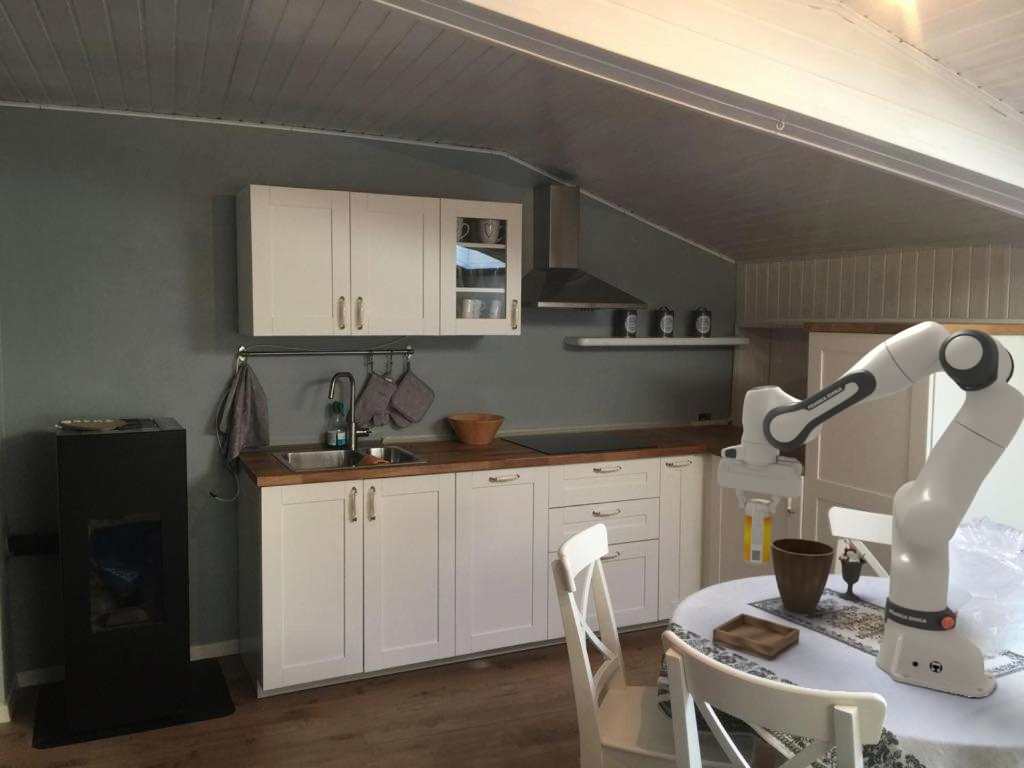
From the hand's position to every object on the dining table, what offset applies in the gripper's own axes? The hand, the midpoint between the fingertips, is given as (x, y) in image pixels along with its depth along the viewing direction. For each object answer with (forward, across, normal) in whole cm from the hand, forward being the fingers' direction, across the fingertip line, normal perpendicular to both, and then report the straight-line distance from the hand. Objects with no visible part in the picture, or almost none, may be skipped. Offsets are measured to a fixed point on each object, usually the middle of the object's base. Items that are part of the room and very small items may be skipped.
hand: (757, 510), depth 207 cm
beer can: (+13, 0, 0) cm, 13 cm away
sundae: (+27, -12, -32) cm, 43 cm away
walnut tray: (+26, -8, +14) cm, 31 cm away
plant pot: (+27, -6, -14) cm, 31 cm away
